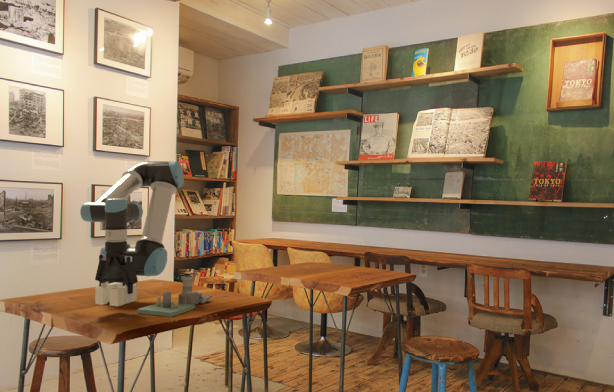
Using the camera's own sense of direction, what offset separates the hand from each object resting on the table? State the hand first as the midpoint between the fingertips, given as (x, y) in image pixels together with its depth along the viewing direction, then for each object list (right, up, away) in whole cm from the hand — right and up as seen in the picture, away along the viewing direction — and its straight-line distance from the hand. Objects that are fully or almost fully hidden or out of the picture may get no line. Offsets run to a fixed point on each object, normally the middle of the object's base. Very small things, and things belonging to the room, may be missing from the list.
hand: (116, 301), depth 182 cm
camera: (+24, -6, +20) cm, 32 cm away
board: (+17, -5, +7) cm, 19 cm away
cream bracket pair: (0, 0, 0) cm, 0 cm away
